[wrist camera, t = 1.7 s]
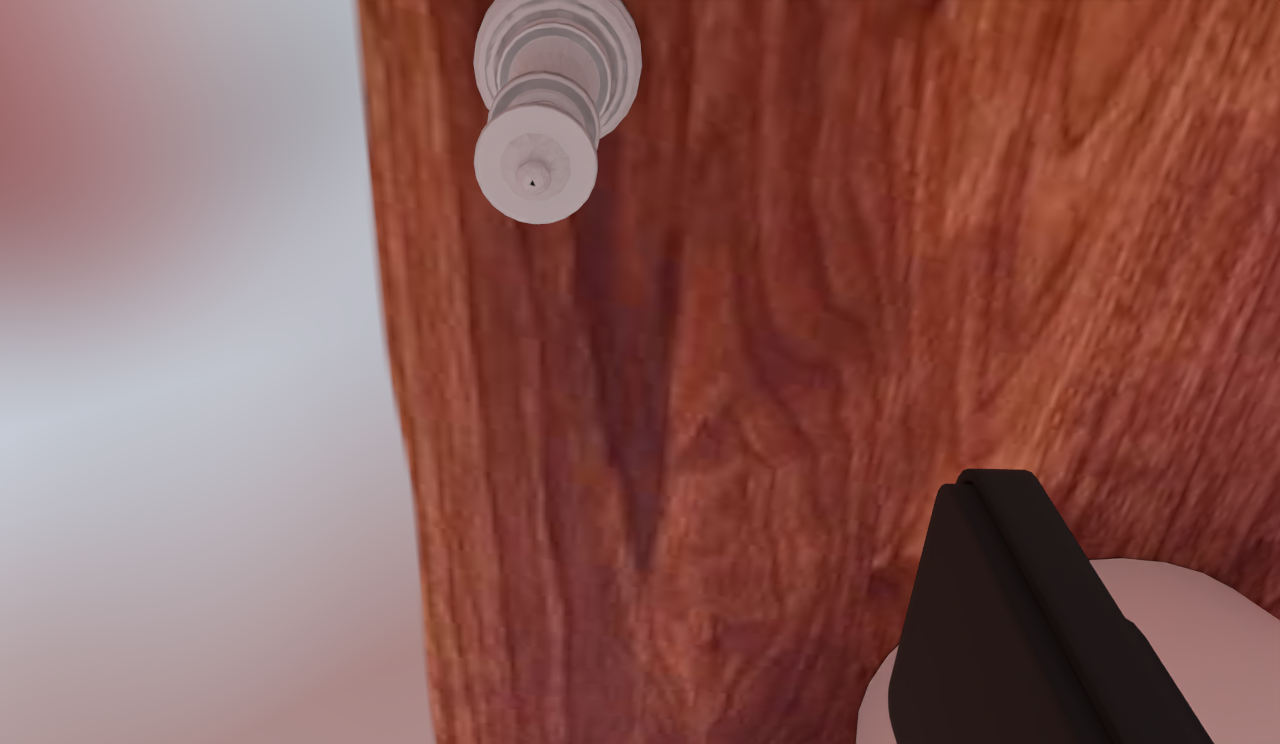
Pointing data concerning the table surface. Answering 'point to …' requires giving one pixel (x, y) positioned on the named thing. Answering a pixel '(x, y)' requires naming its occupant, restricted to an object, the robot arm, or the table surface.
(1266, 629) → the white tapered cylinder
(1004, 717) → the robot arm
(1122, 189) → the table surface
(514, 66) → the chess piece
